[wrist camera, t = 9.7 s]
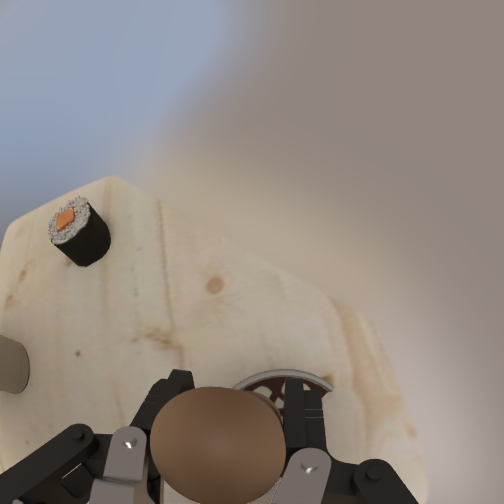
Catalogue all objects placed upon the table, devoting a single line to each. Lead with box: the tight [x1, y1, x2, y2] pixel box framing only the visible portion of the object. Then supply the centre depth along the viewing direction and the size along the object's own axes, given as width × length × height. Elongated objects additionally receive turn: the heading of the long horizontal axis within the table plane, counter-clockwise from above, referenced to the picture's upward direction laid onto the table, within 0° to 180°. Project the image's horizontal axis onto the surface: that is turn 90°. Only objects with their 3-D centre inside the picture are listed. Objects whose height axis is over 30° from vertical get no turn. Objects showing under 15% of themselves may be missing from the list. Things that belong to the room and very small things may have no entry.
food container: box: [232, 369, 334, 425], centre depth 23 cm, size 12×6×10 cm, turn 135°
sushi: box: [48, 196, 111, 267], centre depth 37 cm, size 8×8×8 cm
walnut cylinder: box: [150, 387, 286, 504], centre depth 10 cm, size 4×4×8 cm
